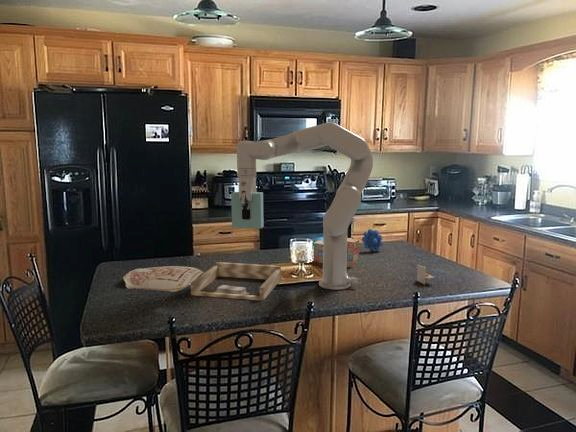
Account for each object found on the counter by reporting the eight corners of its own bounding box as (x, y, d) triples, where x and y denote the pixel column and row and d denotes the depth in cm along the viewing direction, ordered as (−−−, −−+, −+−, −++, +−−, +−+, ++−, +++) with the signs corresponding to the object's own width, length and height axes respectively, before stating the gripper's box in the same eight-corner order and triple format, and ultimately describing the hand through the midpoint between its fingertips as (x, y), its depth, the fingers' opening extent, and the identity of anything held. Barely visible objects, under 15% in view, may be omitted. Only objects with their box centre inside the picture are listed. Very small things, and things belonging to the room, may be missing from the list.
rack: (281, 282, 200) (281, 265, 199) (263, 304, 175) (263, 285, 174) (216, 277, 207) (216, 261, 205) (190, 298, 181) (190, 280, 180)
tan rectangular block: (312, 261, 233) (312, 236, 231) (318, 258, 238) (318, 234, 236) (353, 268, 222) (353, 241, 220) (358, 265, 227) (359, 239, 225)
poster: (115, 296, 194) (186, 298, 188) (113, 281, 193) (184, 283, 187) (148, 271, 221) (211, 273, 215) (147, 258, 219) (210, 259, 213)
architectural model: (423, 280, 204) (424, 263, 203) (433, 285, 197) (434, 267, 196) (416, 281, 203) (417, 264, 202) (426, 286, 196) (427, 268, 195)
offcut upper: (245, 292, 183) (245, 287, 183) (241, 296, 179) (241, 290, 179) (222, 289, 187) (222, 284, 186) (217, 293, 183) (217, 287, 182)
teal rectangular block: (263, 226, 197) (263, 192, 194) (261, 228, 193) (260, 193, 191) (235, 225, 199) (234, 191, 197) (232, 227, 195) (231, 193, 193)
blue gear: (364, 254, 247) (365, 230, 245) (359, 251, 253) (360, 228, 251) (385, 252, 250) (386, 229, 248) (380, 249, 256) (381, 227, 254)
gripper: (250, 174, 184) (251, 222, 187) (261, 171, 200) (262, 215, 203) (231, 174, 185) (232, 221, 188) (243, 170, 201) (244, 214, 204)
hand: (247, 217), depth 195 cm, fingers closed on teal rectangular block, 4 cm apart
